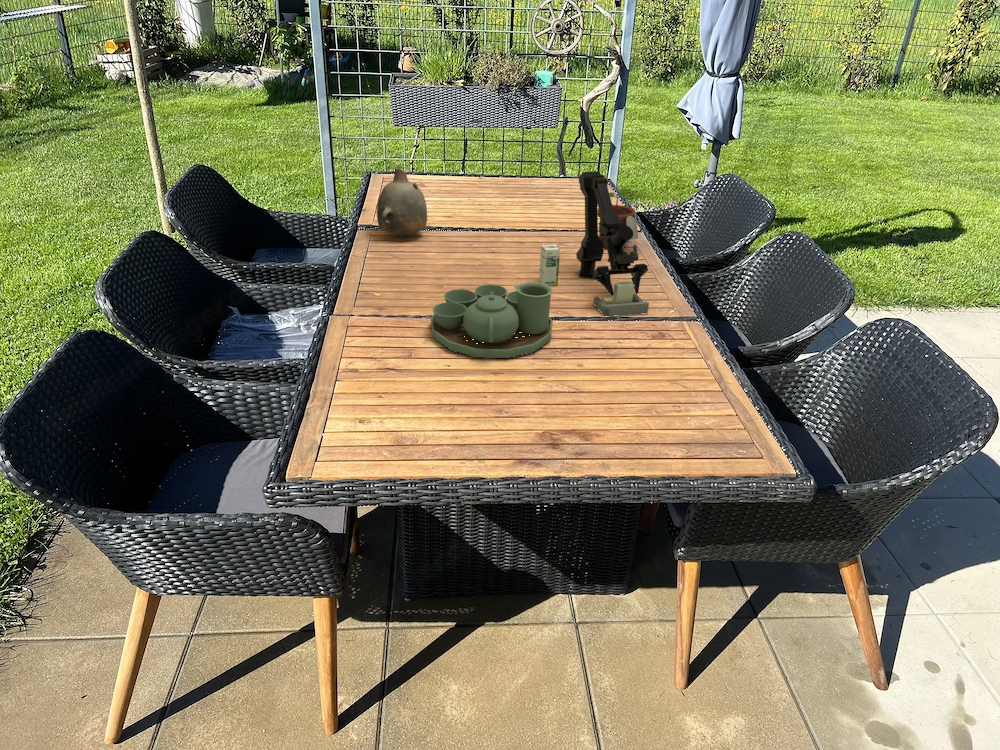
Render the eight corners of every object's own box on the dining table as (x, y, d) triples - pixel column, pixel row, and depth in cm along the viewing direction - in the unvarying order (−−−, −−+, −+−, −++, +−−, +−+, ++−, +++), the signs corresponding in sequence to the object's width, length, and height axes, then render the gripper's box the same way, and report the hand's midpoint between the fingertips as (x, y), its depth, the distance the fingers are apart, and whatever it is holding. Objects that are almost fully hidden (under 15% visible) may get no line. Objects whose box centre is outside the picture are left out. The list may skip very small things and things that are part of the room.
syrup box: (543, 286, 261) (546, 249, 254) (538, 280, 266) (541, 244, 259) (557, 285, 263) (560, 248, 256) (552, 279, 268) (555, 243, 260)
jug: (424, 246, 294) (422, 175, 279) (373, 244, 294) (369, 172, 279) (430, 228, 315) (429, 160, 300) (383, 226, 315) (379, 158, 300)
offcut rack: (592, 303, 249) (593, 293, 247) (633, 300, 253) (635, 290, 251) (604, 317, 240) (606, 306, 238) (647, 313, 244) (648, 303, 242)
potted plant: (632, 241, 310) (639, 185, 297) (637, 258, 291) (646, 199, 278) (592, 239, 310) (598, 182, 298) (595, 256, 291) (601, 197, 279)
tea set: (522, 300, 251) (524, 256, 242) (572, 350, 219) (577, 302, 210) (415, 314, 237) (414, 268, 229) (452, 370, 205) (452, 319, 197)
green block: (611, 309, 246) (614, 282, 241) (627, 307, 247) (630, 281, 242) (614, 312, 244) (618, 286, 238) (630, 311, 245) (634, 285, 240)
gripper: (599, 244, 235) (608, 287, 231) (649, 241, 239) (659, 283, 236) (588, 258, 245) (596, 299, 242) (637, 255, 250) (646, 295, 246)
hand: (625, 294), depth 241 cm, fingers open, 9 cm apart
